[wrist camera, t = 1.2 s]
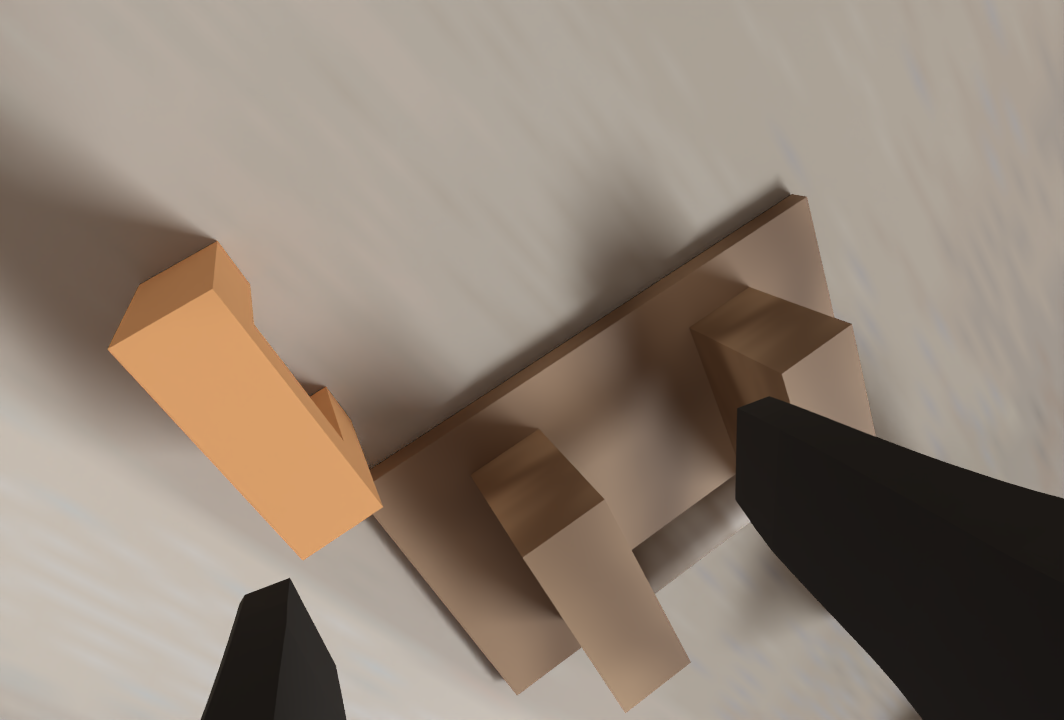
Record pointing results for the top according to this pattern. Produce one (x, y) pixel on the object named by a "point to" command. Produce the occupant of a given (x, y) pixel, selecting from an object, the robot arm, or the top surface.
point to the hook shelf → (620, 458)
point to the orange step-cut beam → (245, 401)
